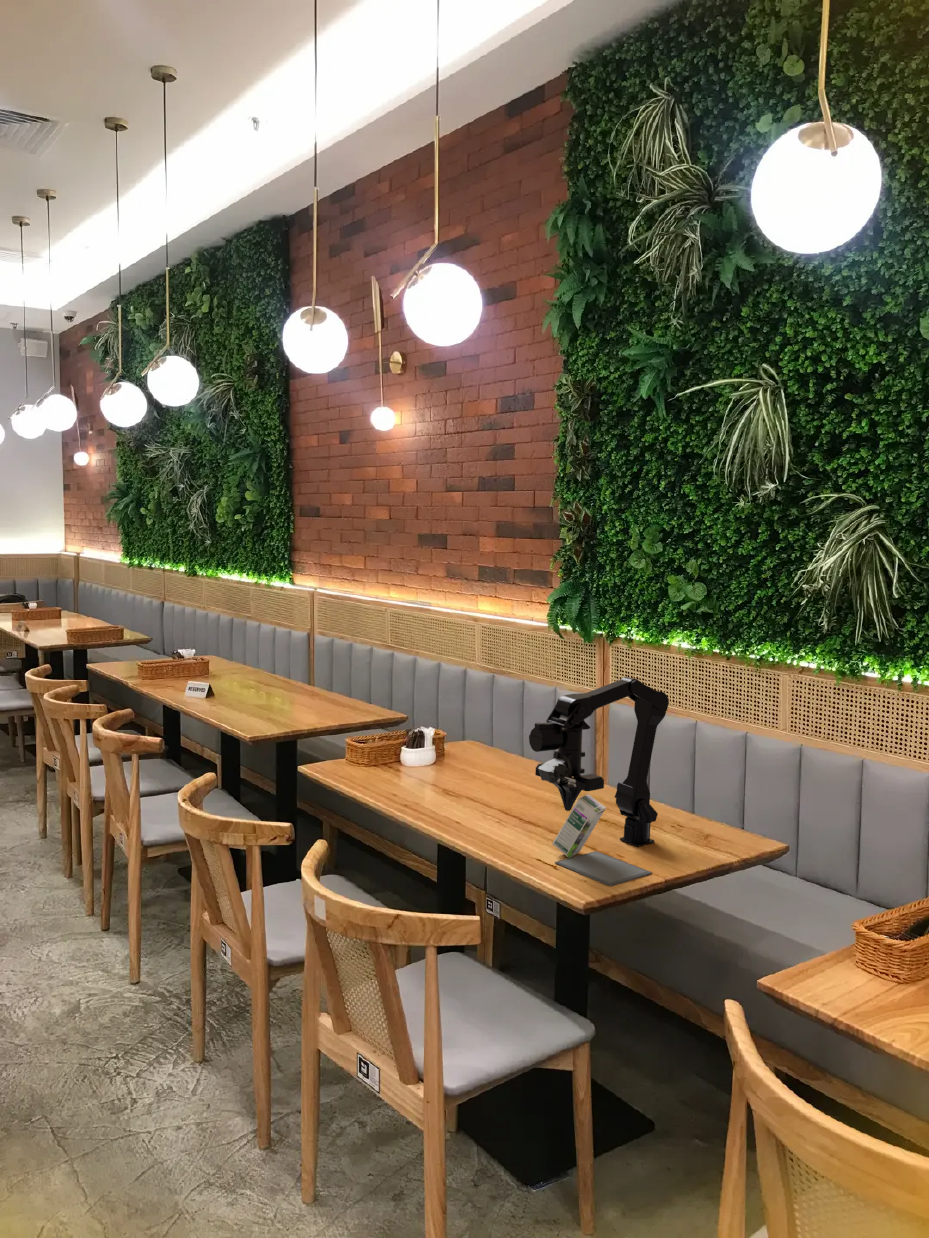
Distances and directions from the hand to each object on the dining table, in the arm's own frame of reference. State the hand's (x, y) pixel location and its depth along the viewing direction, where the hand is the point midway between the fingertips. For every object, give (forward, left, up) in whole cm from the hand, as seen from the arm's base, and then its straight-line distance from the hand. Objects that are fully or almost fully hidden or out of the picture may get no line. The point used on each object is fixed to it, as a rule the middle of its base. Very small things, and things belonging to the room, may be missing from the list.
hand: (567, 810), depth 234 cm
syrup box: (0, 0, -10) cm, 10 cm away
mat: (0, +12, -11) cm, 17 cm away
